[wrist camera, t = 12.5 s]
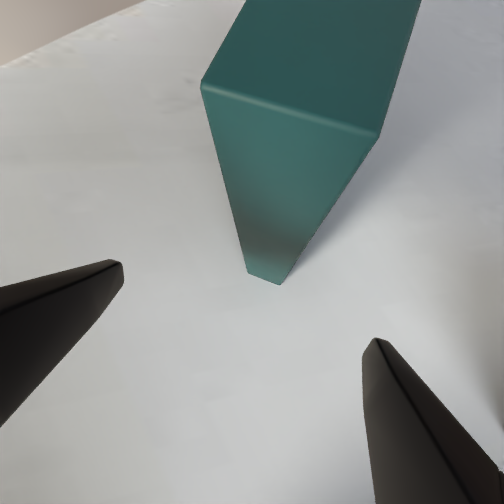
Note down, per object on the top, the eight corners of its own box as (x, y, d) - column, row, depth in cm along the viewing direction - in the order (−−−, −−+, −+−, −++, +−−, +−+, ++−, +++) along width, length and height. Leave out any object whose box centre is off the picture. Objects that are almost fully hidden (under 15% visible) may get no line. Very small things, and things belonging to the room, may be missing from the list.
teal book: (280, 285, 16) (383, 137, 3) (247, 273, 17) (194, 82, 3) (306, 215, 18) (460, -119, 4) (274, 204, 18) (321, -142, 4)
